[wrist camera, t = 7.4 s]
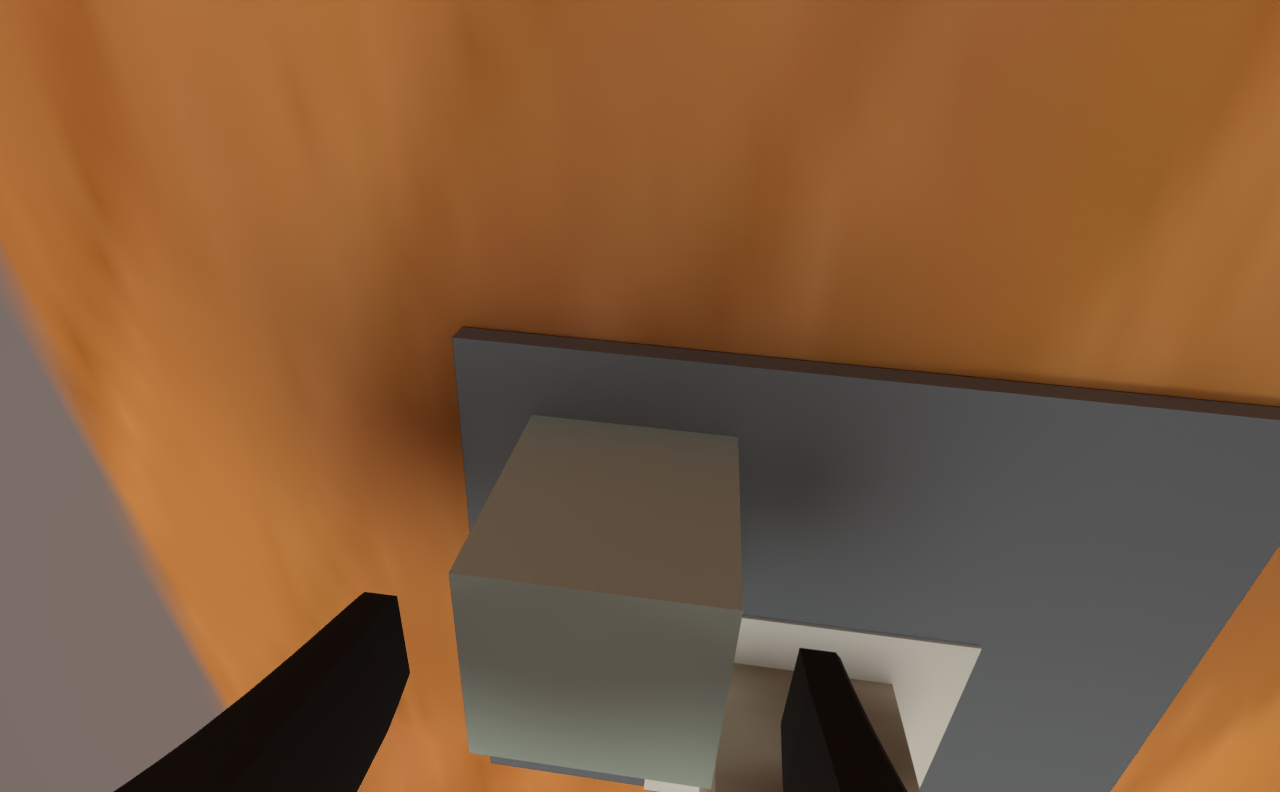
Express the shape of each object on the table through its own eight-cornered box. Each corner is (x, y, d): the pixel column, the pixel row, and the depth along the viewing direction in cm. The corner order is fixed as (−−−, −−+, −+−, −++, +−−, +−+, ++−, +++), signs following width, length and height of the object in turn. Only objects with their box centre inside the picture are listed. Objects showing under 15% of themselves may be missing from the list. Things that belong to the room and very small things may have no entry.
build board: (1334, 412, 13) (1364, 431, 12) (1061, 829, 20) (1071, 853, 20) (462, 327, 14) (450, 339, 14) (496, 745, 22) (489, 766, 21)
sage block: (738, 436, 14) (742, 610, 10) (714, 590, 16) (710, 788, 12) (531, 415, 15) (448, 573, 10) (536, 568, 17) (469, 752, 12)
